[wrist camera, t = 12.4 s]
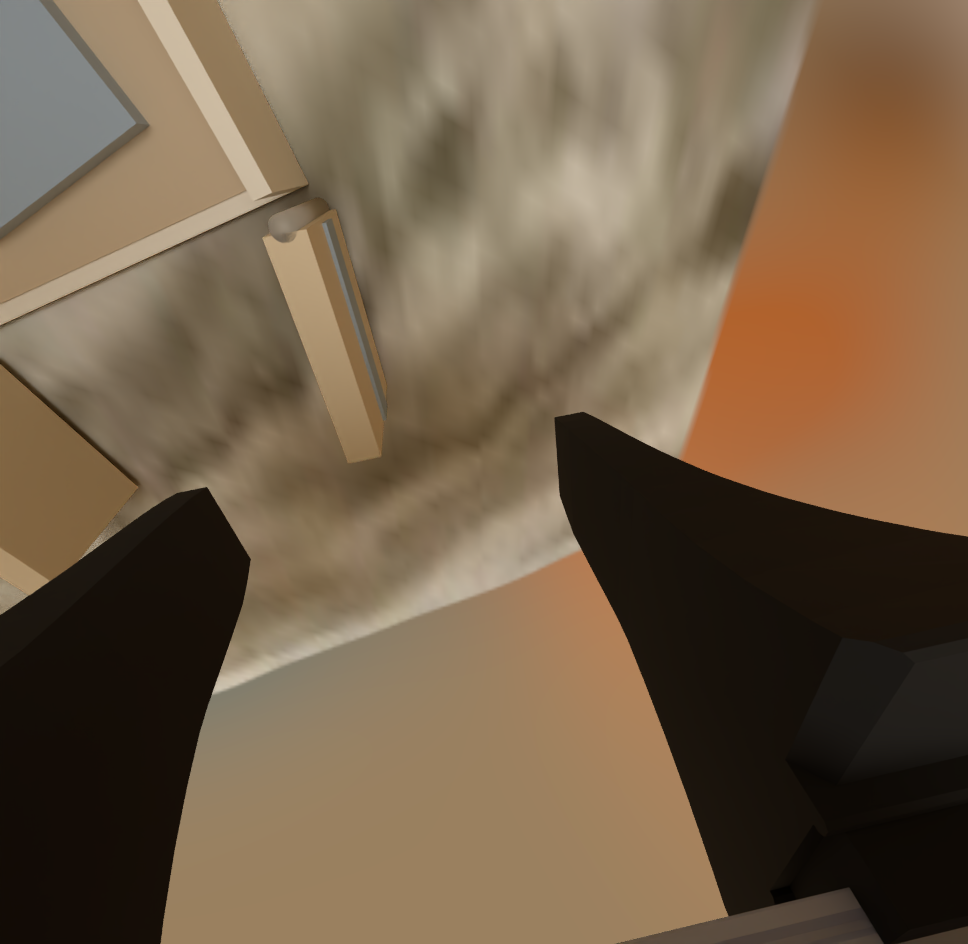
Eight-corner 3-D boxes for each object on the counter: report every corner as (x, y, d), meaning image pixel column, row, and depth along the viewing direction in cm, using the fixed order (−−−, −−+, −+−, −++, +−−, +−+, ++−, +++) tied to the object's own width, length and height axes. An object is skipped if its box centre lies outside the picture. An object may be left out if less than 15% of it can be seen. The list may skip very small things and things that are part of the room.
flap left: (-44, 362, 16) (-222, 441, 11) (-18, 348, 16) (-187, 422, 11) (116, 497, 20) (30, 598, 15) (138, 487, 20) (57, 586, 15)
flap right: (300, 200, 15) (254, 217, 10) (334, 194, 15) (304, 208, 10) (361, 389, 19) (348, 463, 14) (389, 384, 19) (384, 456, 14)
